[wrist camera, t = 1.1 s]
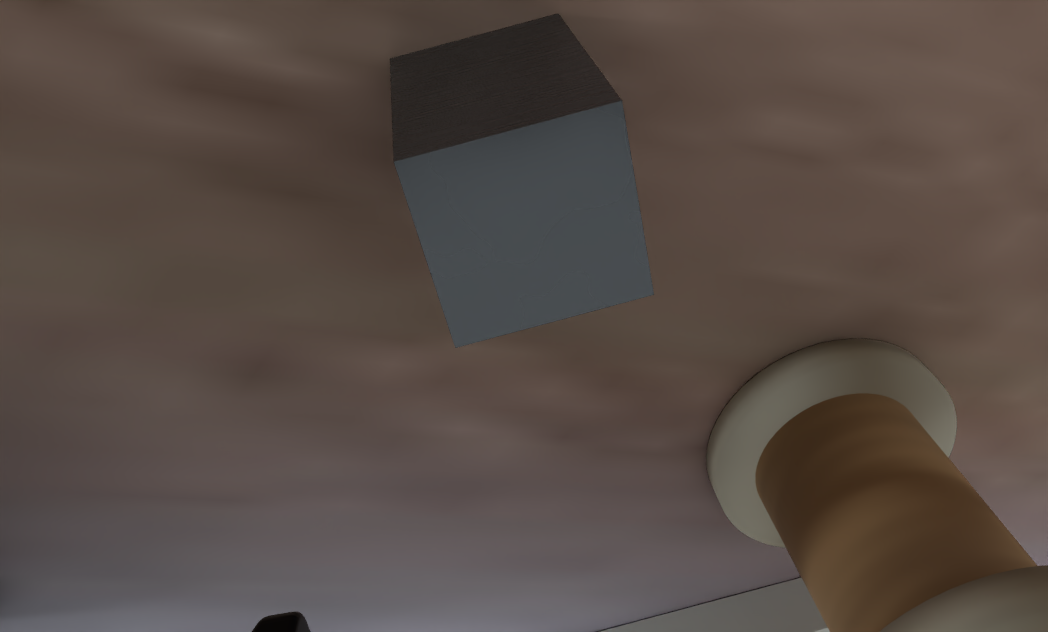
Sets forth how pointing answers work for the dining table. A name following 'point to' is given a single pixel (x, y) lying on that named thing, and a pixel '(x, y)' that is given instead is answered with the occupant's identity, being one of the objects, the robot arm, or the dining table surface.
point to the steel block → (518, 179)
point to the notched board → (743, 613)
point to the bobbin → (870, 495)
